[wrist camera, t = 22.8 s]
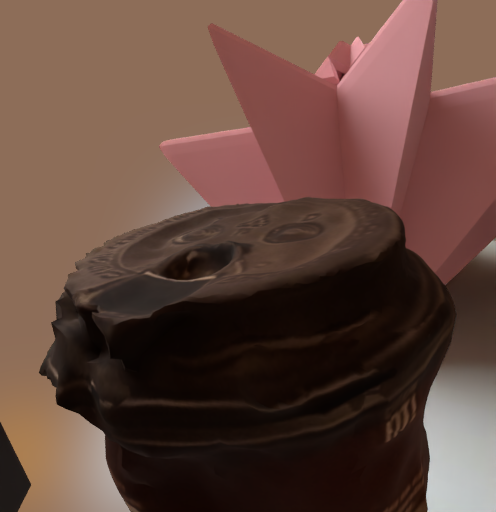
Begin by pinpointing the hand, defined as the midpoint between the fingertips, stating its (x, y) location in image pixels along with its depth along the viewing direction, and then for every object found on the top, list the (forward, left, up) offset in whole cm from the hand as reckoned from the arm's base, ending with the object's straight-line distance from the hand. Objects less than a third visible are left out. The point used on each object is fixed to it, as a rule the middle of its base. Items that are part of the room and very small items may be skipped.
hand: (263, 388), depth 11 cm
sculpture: (-28, +14, -4) cm, 32 cm away
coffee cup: (0, 0, -9) cm, 9 cm away
